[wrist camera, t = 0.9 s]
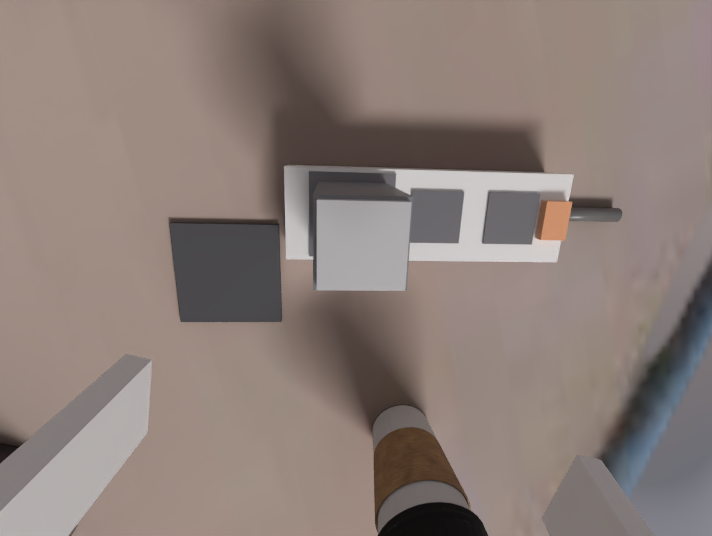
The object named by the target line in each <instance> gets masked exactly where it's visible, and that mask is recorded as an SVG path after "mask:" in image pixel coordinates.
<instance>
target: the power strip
mask: <svg viewBox="0 0 712 536" xmlns="http://www.w3.org/2000/svg"><path fill="white" fill-rule="evenodd" d="M573 176H574V175H573V174H561V173H548V172H520V171H486V170H453V169H419V168H385V167H352V166H318V165H286V166H284V190H285V231H286V259H313V193H314V191H315V188H316V186H317V184H318V181H326V182H364V183H387V184H389V185H391V186H393V187H395V188H397V189H399V190H401V191H403V192H405V193H407V194H409V195H411V196H413V209H412V222H411V236H410V249H409V261H491V262H557V259H558V254H559V249H560V243H561V240H563V241H565V238H566V233H567V228H568V223H569V221H600V222H618V221H619V220H620V219H621V217H622V211H621V209H619V208H583V207H572V203H573V202H570V201H569V197H570V192H571V186H572V181H573Z"/></svg>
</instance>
